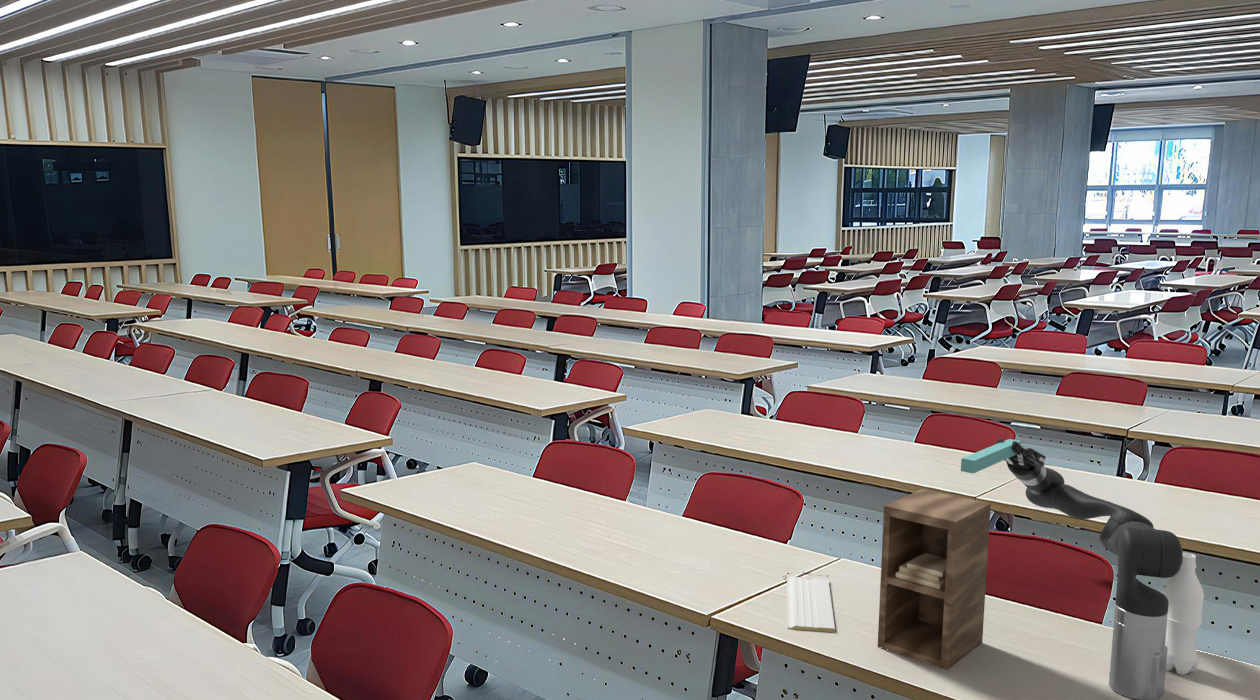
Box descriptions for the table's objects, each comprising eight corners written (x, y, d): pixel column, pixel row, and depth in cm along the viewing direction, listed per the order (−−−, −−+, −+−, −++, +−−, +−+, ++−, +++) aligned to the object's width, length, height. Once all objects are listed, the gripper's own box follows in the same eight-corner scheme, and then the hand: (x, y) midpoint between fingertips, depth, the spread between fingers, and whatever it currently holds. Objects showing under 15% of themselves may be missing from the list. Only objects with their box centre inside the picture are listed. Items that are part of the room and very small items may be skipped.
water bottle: (1152, 668, 199) (1162, 554, 195) (1163, 658, 204) (1173, 546, 200) (1191, 680, 194) (1202, 563, 190) (1201, 669, 199) (1212, 555, 195)
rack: (982, 642, 211) (990, 503, 206) (947, 670, 197) (955, 521, 193) (914, 622, 221) (921, 489, 217) (877, 646, 208) (884, 505, 204)
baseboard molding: (781, 631, 217) (834, 635, 215) (781, 618, 217) (835, 622, 215) (781, 581, 248) (828, 584, 246) (781, 570, 247) (828, 573, 245)
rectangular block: (1020, 452, 235) (1021, 440, 234) (973, 473, 214) (974, 460, 214) (1008, 450, 237) (1009, 439, 236) (960, 471, 216) (961, 458, 216)
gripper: (1003, 449, 249) (982, 425, 237) (1058, 458, 240) (1039, 433, 228) (996, 475, 247) (974, 453, 235) (1051, 486, 238) (1031, 462, 226)
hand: (1006, 443), depth 231 cm, fingers closed on rectangular block, 3 cm apart
